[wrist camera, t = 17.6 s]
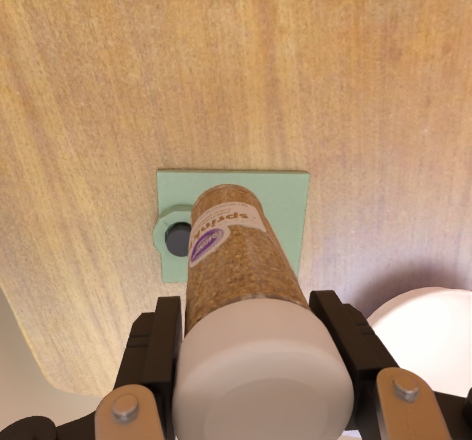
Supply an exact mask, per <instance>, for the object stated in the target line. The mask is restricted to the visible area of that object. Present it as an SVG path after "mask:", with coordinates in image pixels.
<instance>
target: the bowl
mask: <svg viewBox="0 0 472 440" xmlns="http://www.w3.org/2000/svg"><path fill="white" fill-rule="evenodd" d="M367 322H368V323H369V326H371V327H372V329H373V330H374V331H375V334H376V335H377V336H378V337H379V338H380V340H381V341H382V343H383V344H384V345H385V347H386V348H387V350H388V351H389V352H390V354H391V355H392V357H393V358H394V359H395V361H396V362H397V364H398V365H399V366H400V368H402V369H406V370H409V371H411V372H413V373H415V374H416V375H418V376H419V377H421V378H422V379H423V380H424V381H426V382H427V384H428V385H429V386H430V387H431V389H432V390H433V391H437V392H441V393H446V394H451V395H456V396H461V397H465V398H466V397H467V395H468V392H469V390H470V389H471V387H472V291H469V290H463V289H449V288H443V287H424V288H420V289H415V290H411V291H408V292H406V293H403V294H400V295H398V296H396V297H394V298H393V299H391V300H389V301H387V302H386V303H384V304H383V305H382V306H381V307H379V308H378V309H377V310H375V311H374V312H373V314H372V315H371V316H370V317H369V318H368V319H367Z"/></svg>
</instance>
